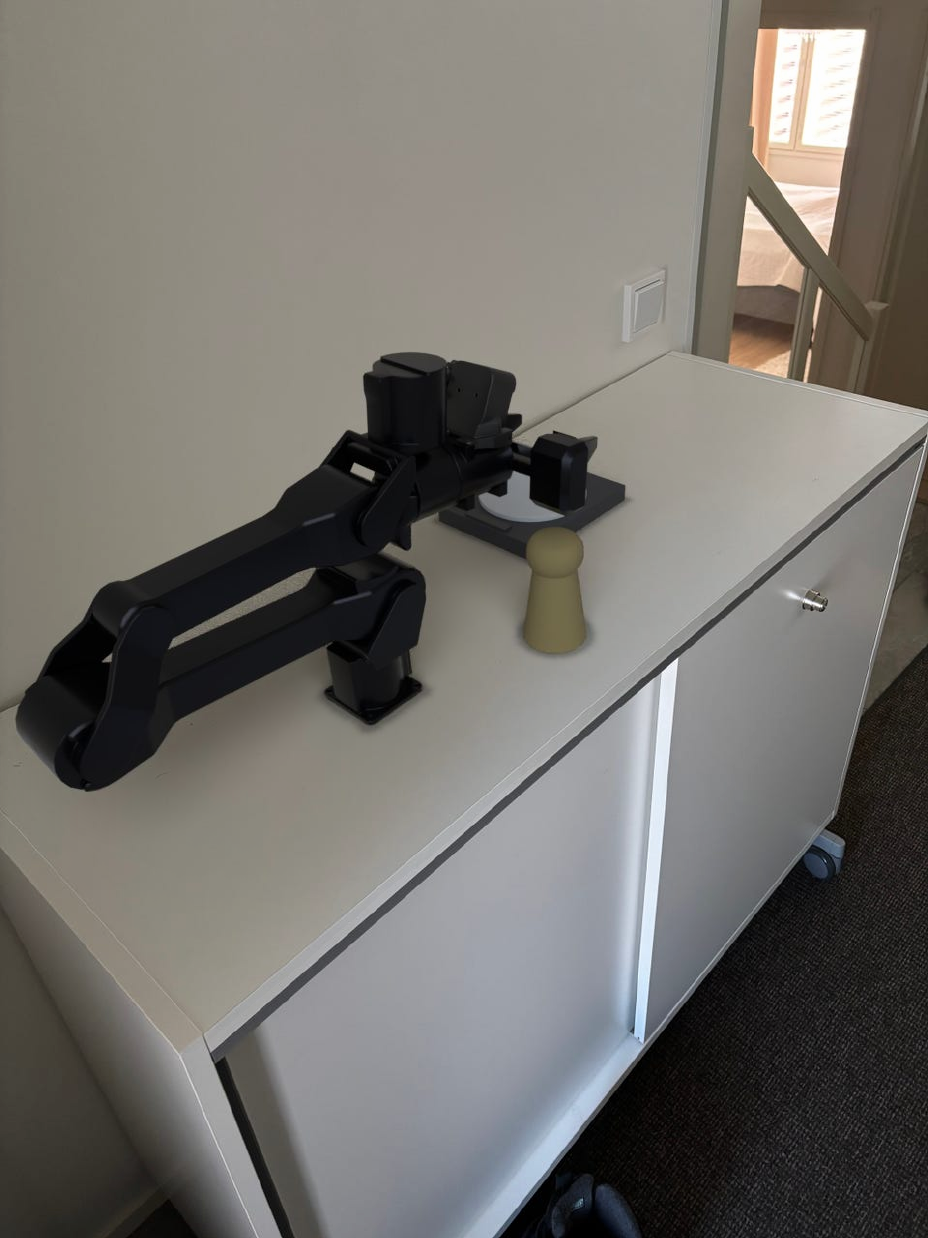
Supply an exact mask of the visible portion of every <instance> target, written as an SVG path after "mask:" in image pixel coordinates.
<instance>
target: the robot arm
mask: <svg viewBox="0 0 928 1238" xmlns="http://www.w3.org/2000/svg"><path fill="white" fill-rule="evenodd" d="M371 369H372V370H370V371H367V372H364V374H363V375H362V387H363V394H364V397H365V403H366V425H367V432H365V433H359V432H357V431H354V430H351V429H347V430H345V432H344V433H343V434H342V435H341V437H340V438H339V439H338V441H337V442H336V444H335V445H334V446H332V448H331V449H330V451H329V452H328V454H327V455H326V456H325V458H324V459H323V460H322V462H321V463H320V464H319V466H318V467H317V468H314V469H313V470H312V471H311V472H309V473H307V474H306V475H304V476H303V477H301V478H300V479H298V480H297V481H296V482H294V483H293V484H291V485H290V486H289V487H287V488H286V489H285V490H284V491H283V493H282V495H281V497H280V498H279V500H278V501H277V502H276V504H275V506H274V507H273V508H272V509H271V510H269V511H268V512H266V513H265V514H263V515H262V516H260V517H257V518H256V519H254V520H251V521H249V522H247V523H244V524H243V525H241V526H238V527H236V528H234V529H232V530H230V531H228V532H226V533H224V534H221V535H220V536H218V537H216V538H213V539H211V540H209V541H207V542H205V543H203V544H201V545H199V546H196V547H195V548H192V549H190V550H188V551H186V552H184V553H182V554H179V555H178V556H176V557H173V558H171V559H170V560H167V561H165V562H163V563H160V564H159V565H157V566H155V567H152V568H150V569H148V570H146V571H144V572H142V573H140V574H137V575H135V576H134V577H131V578H129V579H125V580H119V579H118V580H115V581H111V582H107V584H105V585H104V586H102V587H101V588H100V589H99V590H98V591H97V593H96V594H95V595H94V596H93V599H92V600H91V603H90V605H89V606H88V609H87V611H86V612H85V614H84V617H83V619H82V620H81V621H80V622H79V623H78V624H77V625H76V626H75V627H74V628H73V629H72V630H70V631H69V633H68V634H66V635H65V636H64V637H63V638H62V639H61V640H59V642H58V643H57V644H55V646H53V648H52V649H51V650H50V652H49V654H48V656H47V657H46V660H45V662H44V664H43V666H42V668H41V670H40V671H39V674H38V676H37V678H36V680H35V681H34V682H33V683H32V684H30V686H28V687H27V688H26V689H25V691H24V696H23V698H22V700H21V701H20V703H19V705H18V706H17V709H16V710H17V711H16V714H15V717H14V721H15V727H16V732H17V733H18V735H19V736H20V738H21V740H22V741H23V742H24V743H25V744H26V745H27V747H29V749H31V750H32V752H34V754H35V755H36V756H37V757H38V758H39V760H40V761H42V763H43V764H44V765H45V766H46V767H47V768H48V769H49V770H50V772H51V773H53V775H54V776H55V777H56V778H57V779H58V780H59V782H61V783H63V784H64V785H66V786H67V787H68V788H70V789H75V790H79V791H84V792H86V793H92V792H97V791H100V790H102V789H106V788H109V787H110V786H112V785H114V784H115V783H116V782H118V781H120V780H121V779H122V778H124V777H125V776H126V775H129V773H131V772H132V771H134V770H135V769H136V768H139V766H141V765H142V764H144V763H145V762H146V761H148V760H149V759H152V757H153V756H154V755H155V754H156V753H157V751H158V750H159V748H160V747H161V746H162V744H163V743H164V741H165V740H166V738H167V737H168V735H169V733H170V732H171V730H172V729H173V727H175V725H176V723H177V722H179V721H180V720H182V719H183V718H186V717H188V716H190V715H191V714H194V713H196V712H198V711H200V710H201V709H203V708H205V707H207V706H210V705H212V704H214V703H215V702H217V701H219V700H221V699H223V698H225V697H227V696H229V695H231V694H233V693H235V692H237V691H239V690H241V689H243V688H244V687H247V686H249V685H250V684H252V683H255V682H257V681H259V680H261V679H262V678H264V677H266V676H268V675H271V674H272V673H274V672H276V671H278V670H280V669H282V668H284V667H286V666H288V665H290V664H292V663H294V662H296V661H298V660H300V659H302V658H304V657H305V656H308V655H309V654H311V653H313V652H316V651H317V650H319V649H321V648H324V647H325V646H326V647H325V649H326V655H327V660H328V666H329V672H330V677H331V682H332V684H331V685H329V686H328V687H326V688H325V689H324V690H323V693H324V697H325V698H326V699H328V700H330V701H331V702H333V703H334V704H335V705H337V706H338V707H340V708H342V709H343V710H345V711H346V712H348V713H349V714H351V715H352V716H354V717H355V718H357V719H358V720H360V721H361V722H363V723H364V724H366V725H368V726H373V725H375V724H377V723H378V722H380V721H381V720H382V719H384V718H385V717H387V716H388V715H390V714H391V713H393V712H394V711H395V710H397V709H398V708H399V707H401V706H403V705H404V704H405V703H406V702H408V701H409V700H411V699H412V698H413V697H415V696H416V695H418V694H419V693H421V692H422V691H423V684H422V683H421V682H420V681H418V680H417V679H415V678H414V677H411V675H412V674H413V668H412V667H413V666H412V658H411V650H412V649H414V648H415V647H417V646H418V645H419V641H420V635H421V629H422V624H423V619H424V614H425V608H426V602H427V592H426V591H427V583H426V578H425V576H424V574H423V573H422V571H421V570H420V569H418V568H416V567H415V566H413V565H411V564H409V563H407V562H405V561H403V560H401V559H399V558H397V557H395V556H393V555H392V554H389V553H387V552H386V551H384V549H385V548H386V547H387V546H388V545H389V544H390V545H393V546H395V547H397V548H399V549H401V550H402V551H405V552H409V551H411V549H412V524H416V523H417V522H420V521H422V520H424V519H427V518H428V517H431V516H433V515H436V514H439V512H441V511H443V510H446V509H448V508H450V507H453V506H454V507H457V508H459V509H462V510H464V511H469V510H471V509H474V508H475V497H477V496H479V495H482V494H484V493H486V492H487V493H489V494H492V495H495V496H497V497H502V496H504V495H506V494H507V490H508V480H509V479H510V478H511V476H512V474H513V471H515V472H518V473H521V474H524V475H526V476H529V477H530V492H529V499H530V500H531V501H532V502H533V503H534V504H535V505H537V506H540V507H542V508H545V509H548V510H550V511H553V512H556V513H558V514H561V515H564V516H568V515H570V514H572V513H574V512H576V511H578V510H580V509H581V508H583V507H584V506H585V497H586V481H587V472H588V464H589V462H590V460H591V458H592V457H593V455H594V453H595V452H596V450H597V449H598V442H599V440H598V439H599V438H598V436H597V435H589V436H582V437H576V436H573V435H571V434H567V433H564V432H560V431H557V430H552V433H544V434H542V435H539V436H538V437H537V438H536V440H535V441H534V444H533V445H529V444H526V443H522V442H519V441H516V440H513V435H514V432H515V431H516V430H517V429H519V428H520V427H521V426H522V424H523V414H522V413H519V412H509V410H510V405H511V402H512V398H513V394H514V393H515V392H516V388H517V377H516V376H515V374H514V373H512V372H510V371H507V370H502V369H499V368H495V367H491V366H488V365H484V364H480V363H475V362H470V361H466V360H457V359H452V360H451V361H447V360H446V359H445V358H444V357H442V356H440V355H437V354H432V353H428V352H420V351H419V352H418V351H403V352H393V353H388V354H384V355H380V356H379V359H378V360H376V361H374V362H373V363H372V367H371ZM354 464H356V465H358V466H360V467H363V468H365V469H367V470H370V471H372V472H374V473H373V476H372V478H371V479H369V478H367V477H365V476H362V475H360V474H357V473H356V472H354V471H352V469H353V466H354ZM310 569H314V570H313V572H312V574H311V576H310V577H309V579H308V581H307V582H306V583H305V585H304V586H303V587H301V588H300V589H298V590H295V591H294V592H293V591H292V592H291V593H289V594H287V595H285V596H282V597H281V598H278V599H276V600H273V601H271V602H269V603H268V604H265V605H262V606H261V607H258V608H256V609H254V610H252V611H249V612H247V613H245V614H243V615H241V616H238V617H236V618H233V619H232V620H229V621H228V622H225V623H224V624H220V625H218V626H216V627H214V628H212V629H209V630H207V631H205V632H203V633H200V634H199V635H196V636H194V637H192V638H190V639H188V640H185V641H183V642H181V643H179V644H177V645H174V646H172V647H170V646H171V644H172V643H173V640H174V639H176V638H178V637H179V636H181V635H183V634H185V633H186V632H188V631H190V630H192V629H194V628H196V627H198V626H200V625H202V624H204V623H205V622H207V621H210V619H212V618H213V619H214V618H215V617H217V616H219V615H220V614H222V613H224V612H226V611H228V610H230V609H232V608H234V607H237V606H238V605H239V604H241V603H244V602H245V601H247V600H249V599H251V598H252V597H255V596H256V595H258V594H260V593H262V592H265V591H266V590H268V589H270V588H272V587H274V586H276V585H277V584H279V583H281V582H283V581H285V580H287V579H290V577H292V576H294V575H297V574H299V573H301V572H304V571H308V570H310ZM109 656H111V658H110V661H105V660H106V659H107V658H108V657H109Z"/></svg>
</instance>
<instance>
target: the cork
mask: <svg viewBox="0 0 928 1238" xmlns="http://www.w3.org/2000/svg"><path fill="white" fill-rule="evenodd" d="M584 552H585V547H584V542H583V540H582V539H581V538H580V536H579V534H578V533H576V532H574V531H572V530H569V529H567V528H562V527H548V528H544V529H541V530H538V531H537V532H535V533H534V534H533V535H532V536H531V538H530V539H529V540H528V542H527V546H526V558H525V559H526V562H527V564H528V567H529V568H530V569H531V573H530V582H529V589H528V595H527V603H526V610H525V618H524V624H523V633H522V638H523V639H524V642H525V644H527V645H528V646H529V647H530V649H531V648H532V649H533V650H536V651H538V652H541V653H546V654H564V653H569V652H572V651H574V650H576V649H578V648H579V647H581V646H582V645H583V644H584V643H585V641H586V639H587V628H586V620H585V614H584V607H583V606H584V605H583V599H582V598H583V597H582V591H581V583H580V575H579V569H580V567H581V565H582V563H583V561H584V555H585V553H584Z"/></svg>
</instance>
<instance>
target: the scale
mask: <svg viewBox="0 0 928 1238" xmlns="http://www.w3.org/2000/svg"><path fill="white" fill-rule="evenodd" d="M529 492H530V477H529V476H526V475H524V474H521V473H518V472H515V471H513V474H512V476H511V478H510V479H509V480H508V490H507V494H506V495H504V496H502V497H497V496H495V495H492V494H489V493H487V492H486V493H484V494H482V495H479V496H477V497H475V508H474V509H471V510H469V511H464V510H462V509H459V508H457V507H454V506H453V507H450V508H448V509H446V510H443V511H441V512H439V513H438V521H439V522H441V523H443V524H445V525H448V526H450V527H452V528H454V529H457V530H459V531H461V532H463V533H466V534H468V535H471V536H473V537H475V538H478V539H480V540H482V541H484V542H487V543H489V544H491V545H493V546H496V547H498V548H500V549H503V550H505V551H507V552H510V553H512V554H514V555H516V556H519V557H521V558H523V559H526V546H527V542H528V540H529V539H530V538H531V536H532V535H533V534H534V533H535V532H537V531H538V530H541V529H544V528H548V527H562V528H567V529H569V530H572V531H574V532H575V533H576V532H578V531H580V530H582V529H583V528H584V527H586V526H587V525H589V524H590V523H592V522H594V521H595V520H596V519H598V518H600V517H601V516H603V515H604V514H605V513H607V512H608V511H610V510H612V509H614V508H615V507H616V506H617V505H620V504H621V503H622V502H624V501H625V499H626V484H623V483H620V482H617V481H615V480H613V479H609V478H607V477H603V476H600V475H598V474H595V473H592V472H589V471H587V481H586V497H585V506H584V507H583V508H581V509H580V510H578V511H576V512H574V513H572V514H570V515H568V516H564V515H561V514H558V513H556V512H553V511H550V510H548V509H545V508H542V507H540V506H537V505H535V504H534V503H533V502H532V501H531V500H530V499H529Z"/></svg>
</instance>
